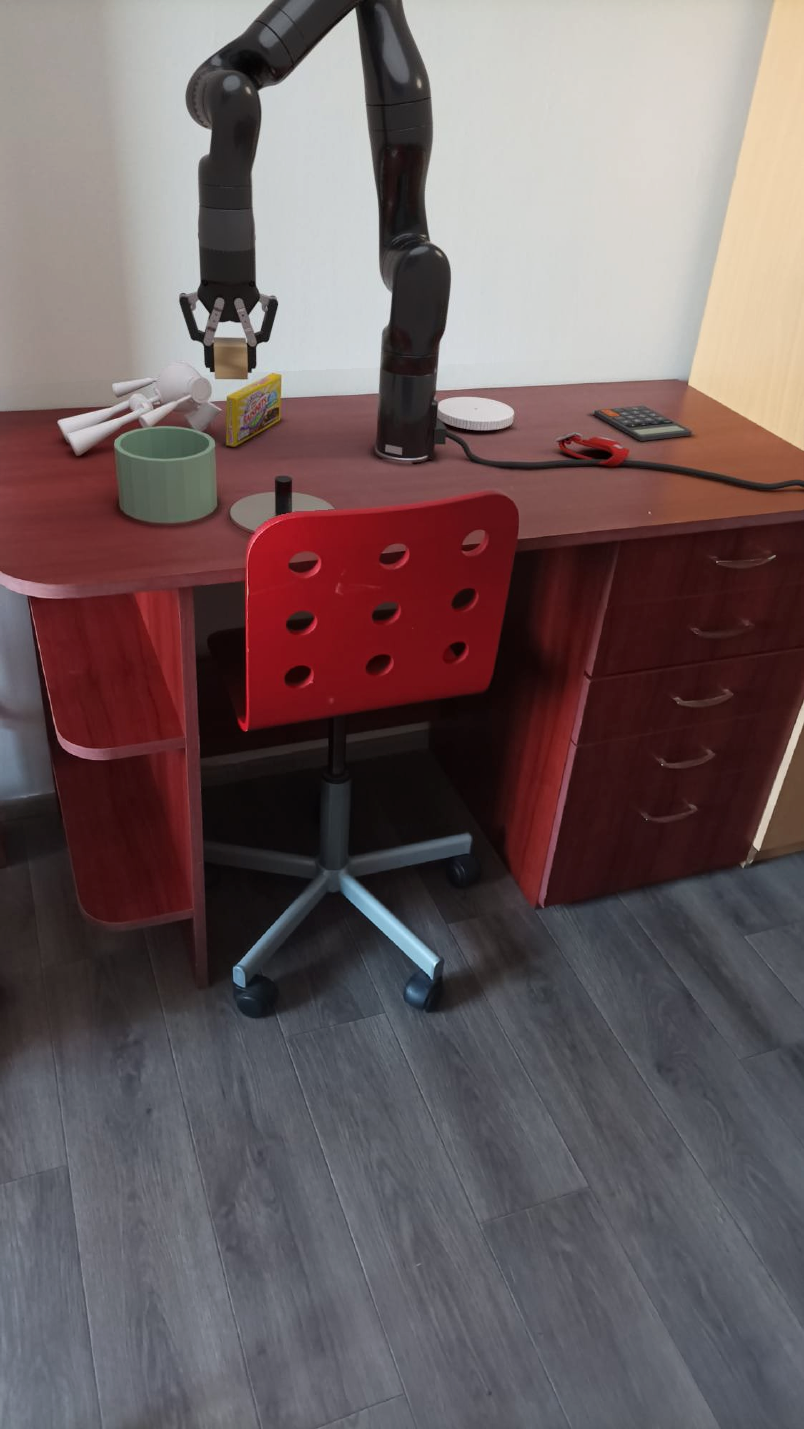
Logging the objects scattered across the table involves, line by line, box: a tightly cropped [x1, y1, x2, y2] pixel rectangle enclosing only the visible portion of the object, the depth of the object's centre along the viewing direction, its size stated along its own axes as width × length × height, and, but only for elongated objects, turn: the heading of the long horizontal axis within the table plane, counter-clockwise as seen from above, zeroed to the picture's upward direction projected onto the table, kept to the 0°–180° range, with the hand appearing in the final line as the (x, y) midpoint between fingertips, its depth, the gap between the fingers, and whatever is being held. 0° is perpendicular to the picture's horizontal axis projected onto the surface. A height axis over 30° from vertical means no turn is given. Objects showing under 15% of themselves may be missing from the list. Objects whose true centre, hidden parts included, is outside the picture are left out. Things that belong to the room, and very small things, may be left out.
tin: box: [113, 425, 218, 524], centre depth 147 cm, size 14×14×10 cm
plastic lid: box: [437, 396, 515, 431], centre depth 188 cm, size 14×14×2 cm
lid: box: [229, 475, 335, 535], centre depth 147 cm, size 15×15×6 cm
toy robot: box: [57, 360, 222, 457], centre depth 169 cm, size 19×12×25 cm
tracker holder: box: [555, 431, 630, 467], centre depth 176 cm, size 12×4×10 cm
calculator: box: [593, 405, 693, 442], centre depth 194 cm, size 12×1×15 cm
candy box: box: [225, 372, 282, 448], centre depth 175 cm, size 16×2×8 cm, turn 158°
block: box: [213, 336, 249, 381], centre depth 148 cm, size 5×5×5 cm
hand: (230, 370), depth 149 cm, fingers closed on block, 4 cm apart
